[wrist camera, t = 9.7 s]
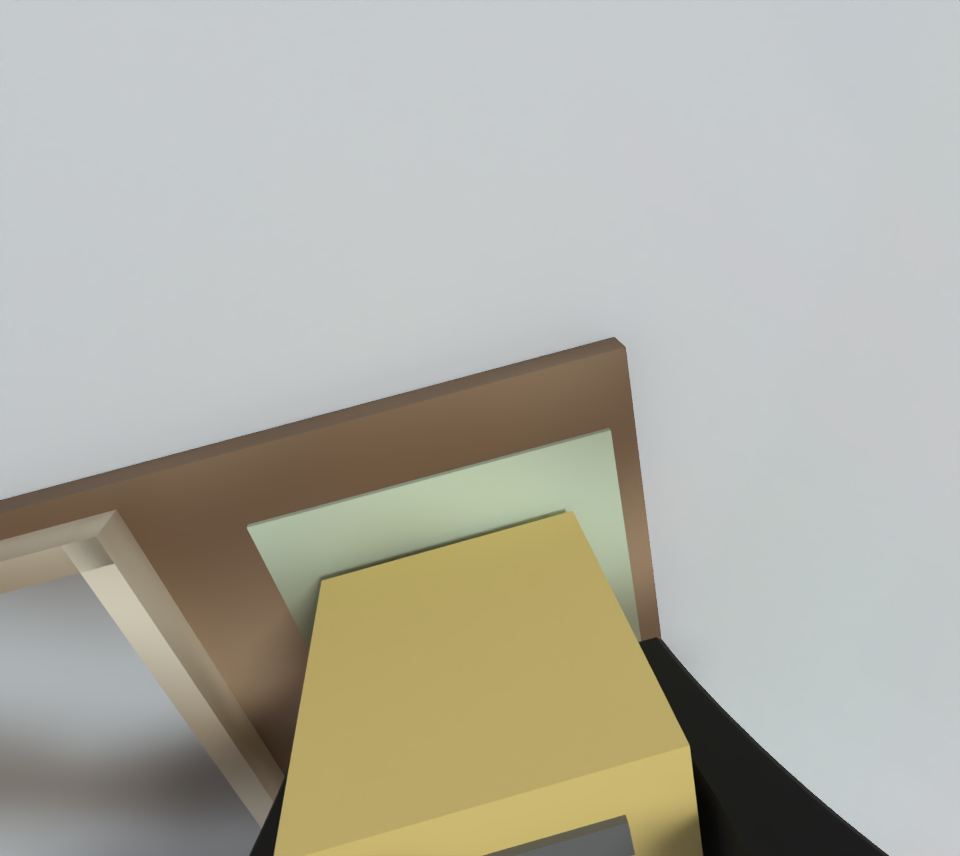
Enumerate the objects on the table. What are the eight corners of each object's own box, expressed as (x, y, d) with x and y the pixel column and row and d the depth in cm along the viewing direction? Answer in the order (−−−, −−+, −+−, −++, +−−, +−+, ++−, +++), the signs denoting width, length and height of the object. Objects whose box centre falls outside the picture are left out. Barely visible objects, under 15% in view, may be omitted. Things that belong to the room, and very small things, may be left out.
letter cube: (608, 686, 13) (717, 959, 9) (398, 745, 13) (399, 1052, 9) (572, 511, 11) (694, 753, 7) (321, 580, 11) (270, 873, 7)
